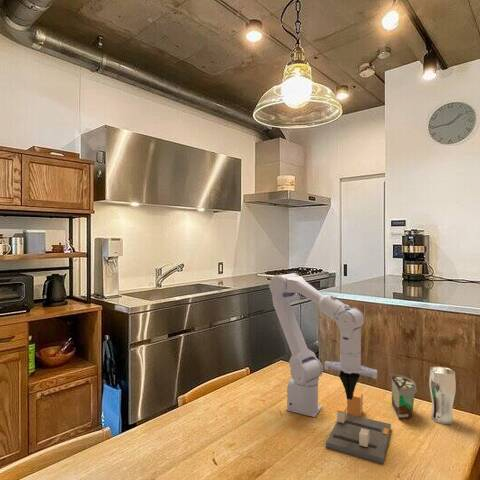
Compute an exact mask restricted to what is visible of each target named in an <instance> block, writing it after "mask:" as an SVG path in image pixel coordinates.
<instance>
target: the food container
mask: <svg viewBox="0 0 480 480" xmlns="http://www.w3.org/2000/svg"><path fill="white" fill-rule="evenodd" d="M390 380H391V406H392V408H393V411H394V412H395V415H396V417H397V419H398V420H400V421H401V420H402V421H403V420H410V419H412V417H413V413H414V401H415V394H417V392H418V389H417V385H416V383H415V381H414V380H412V379H411V378H409V377H407V376H405V375H400V374H395V373H391V376H390Z"/></svg>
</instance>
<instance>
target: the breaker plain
mask: <svg viewBox="0 0 480 480" xmlns="http://www.w3.org/2000/svg"><path fill="white" fill-rule="evenodd" d="M368 444H369V430H367V429H363V428H361V430H360V433H359V445H361V446H364V447H368Z"/></svg>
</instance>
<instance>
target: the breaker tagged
mask: <svg viewBox="0 0 480 480" xmlns="http://www.w3.org/2000/svg"><path fill="white" fill-rule="evenodd" d="M346 414H347V406H346V407H345V406H343V405H339V406H338V408H337V409H336V415H337V416H336V422H341V423H344V422H345V420H346Z"/></svg>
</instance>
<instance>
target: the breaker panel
mask: <svg viewBox="0 0 480 480" xmlns="http://www.w3.org/2000/svg"><path fill="white" fill-rule="evenodd" d="M361 428H363V429H367V430H369V444H368V447H364V446H361V445H359V433H360V430H361ZM391 430H392V423H388V422H384V421H381V420H380V421H379V420H375V419H370V418H368V417H359V416H355V415H351V414H347V413H346V420H345V422H344V423H341V422H337V421H336V422H335V424H334V425H333V428H332V430H331V432H330V433H329V436H328V437H327V439H326V441H325V449H329V450H332V451H335V452H340V453H343V454H346V455H349V456H353V457H357V458H360V459H363V460H367V461H369V462H373V463H377V464H380V465H384V462H385V456H386V453H387V447H388V443H389V440H390V436H391V435H390V434H391Z"/></svg>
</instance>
